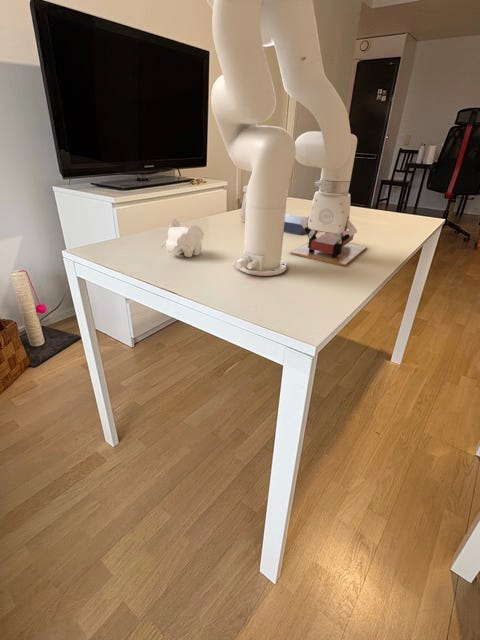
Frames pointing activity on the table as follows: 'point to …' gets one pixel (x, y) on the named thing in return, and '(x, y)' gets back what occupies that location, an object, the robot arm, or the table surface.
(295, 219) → the navy book
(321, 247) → the red rectangular block
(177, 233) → the elephant figurine
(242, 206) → the salt shaker
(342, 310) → the table surface
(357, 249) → the wooden board
